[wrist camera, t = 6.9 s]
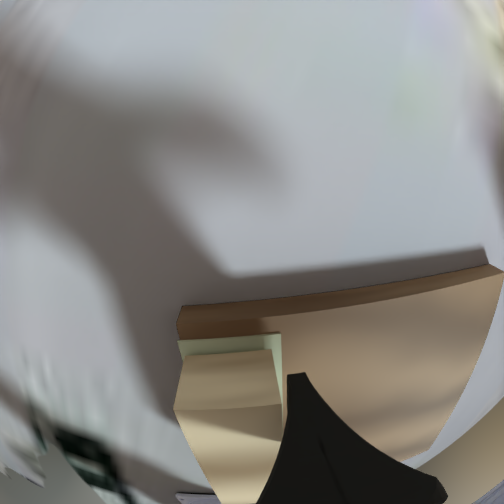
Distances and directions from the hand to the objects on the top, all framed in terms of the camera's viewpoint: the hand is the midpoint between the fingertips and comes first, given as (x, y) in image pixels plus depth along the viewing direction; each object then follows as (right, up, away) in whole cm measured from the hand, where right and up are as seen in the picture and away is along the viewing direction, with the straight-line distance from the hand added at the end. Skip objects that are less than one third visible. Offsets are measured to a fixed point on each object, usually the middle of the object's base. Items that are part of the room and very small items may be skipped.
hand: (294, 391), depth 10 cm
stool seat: (+5, -5, +5) cm, 9 cm away
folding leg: (-2, -4, +3) cm, 5 cm away
